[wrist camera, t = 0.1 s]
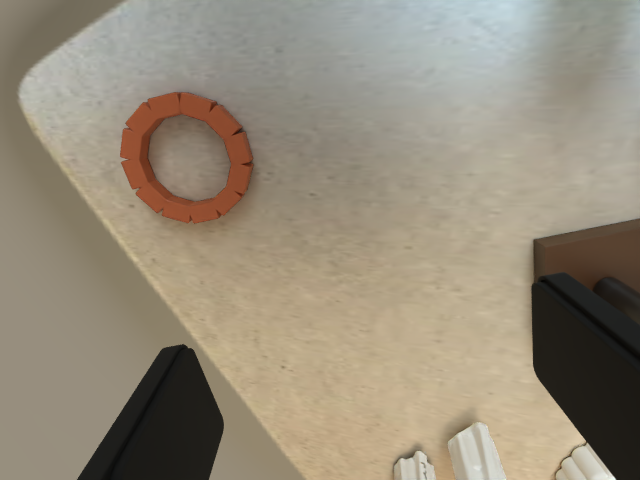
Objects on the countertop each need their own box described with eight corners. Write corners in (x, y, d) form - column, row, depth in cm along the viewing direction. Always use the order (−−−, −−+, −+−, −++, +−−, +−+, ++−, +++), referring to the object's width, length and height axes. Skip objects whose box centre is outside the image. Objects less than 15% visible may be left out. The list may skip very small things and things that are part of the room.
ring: (109, 110, 25) (98, 111, 23) (230, 80, 24) (225, 79, 23) (157, 227, 28) (150, 233, 26) (266, 203, 27) (263, 208, 26)
